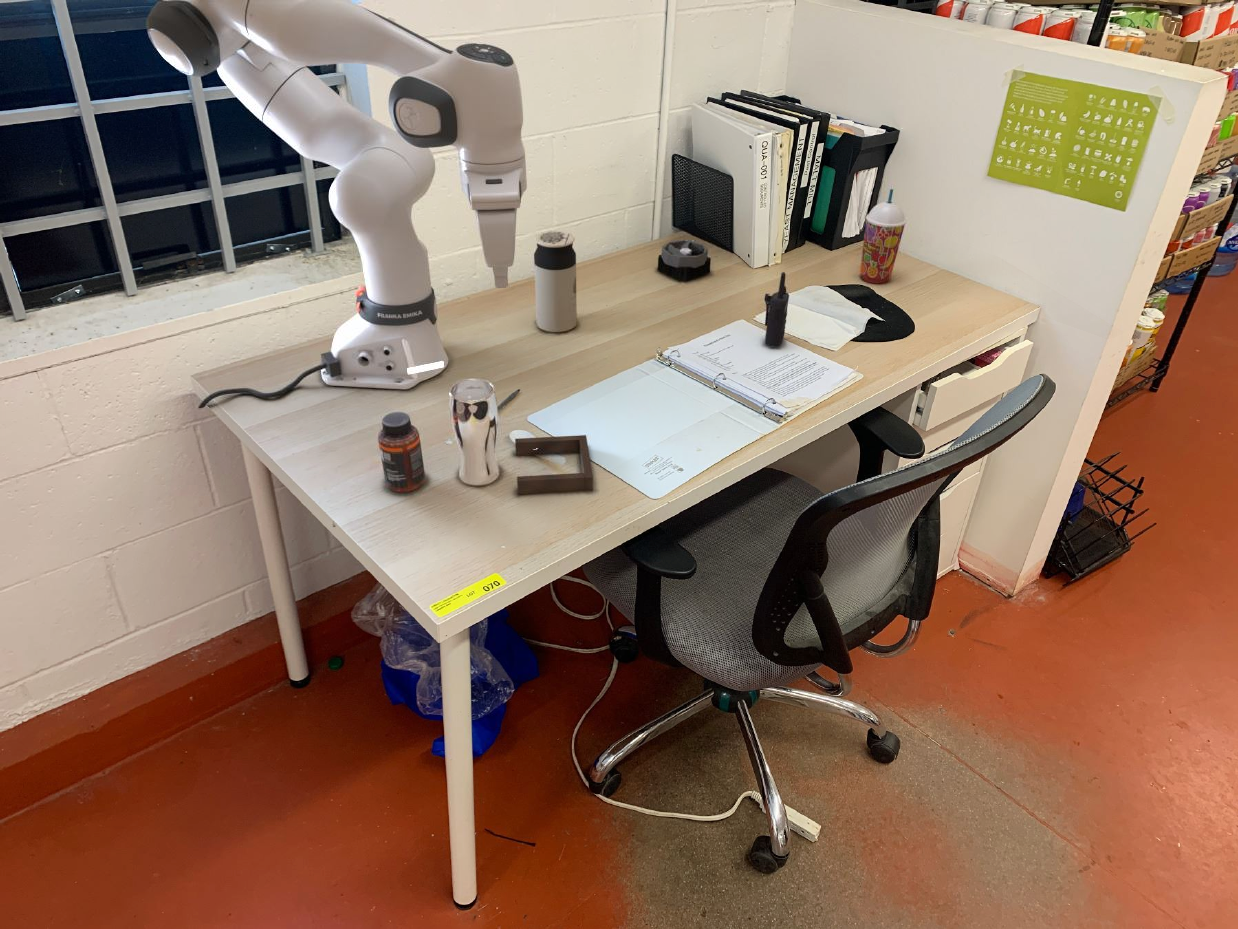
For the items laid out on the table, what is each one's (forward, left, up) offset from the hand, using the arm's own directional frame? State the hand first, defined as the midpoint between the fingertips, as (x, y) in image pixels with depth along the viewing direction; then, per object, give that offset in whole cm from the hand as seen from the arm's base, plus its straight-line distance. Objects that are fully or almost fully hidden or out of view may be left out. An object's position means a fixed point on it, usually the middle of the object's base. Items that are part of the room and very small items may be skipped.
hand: (500, 272), depth 131 cm
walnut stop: (+6, -10, -29) cm, 31 cm away
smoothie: (+82, +57, -29) cm, 104 cm away
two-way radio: (+51, +29, -29) cm, 66 cm away
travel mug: (+10, +40, -29) cm, 51 cm away
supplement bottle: (-16, -11, -29) cm, 35 cm away
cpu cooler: (+40, +64, -29) cm, 81 cm away
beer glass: (-5, -10, -29) cm, 31 cm away
